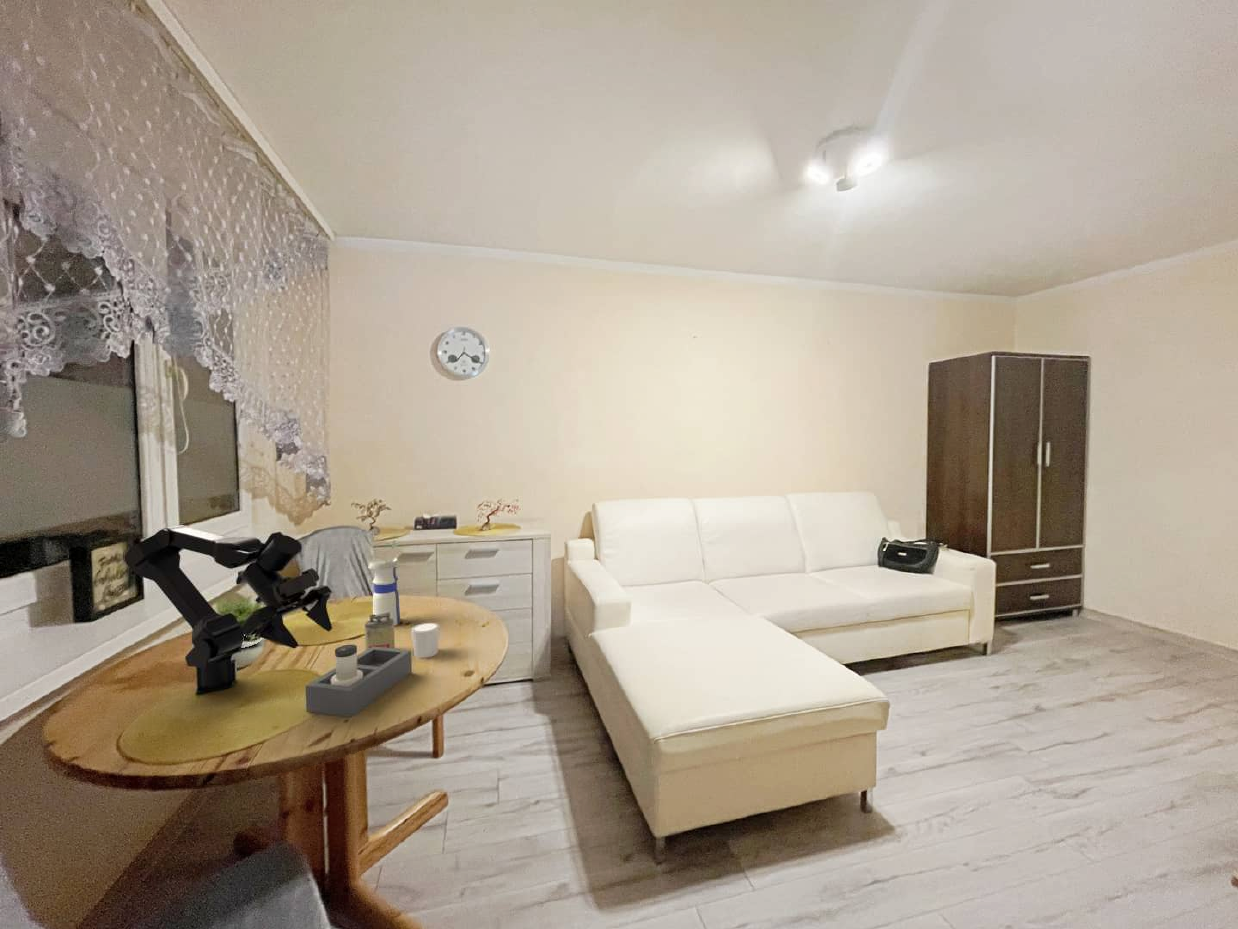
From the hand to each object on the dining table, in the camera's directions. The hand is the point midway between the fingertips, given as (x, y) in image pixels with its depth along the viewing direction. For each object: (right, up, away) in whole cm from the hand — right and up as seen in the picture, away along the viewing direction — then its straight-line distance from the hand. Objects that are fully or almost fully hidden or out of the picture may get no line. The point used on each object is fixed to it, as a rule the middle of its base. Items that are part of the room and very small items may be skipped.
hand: (314, 638), depth 108 cm
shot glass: (+16, -12, +22) cm, 30 cm away
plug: (+8, -11, -1) cm, 13 cm away
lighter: (+3, -12, +24) cm, 27 cm away
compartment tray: (+9, -13, +3) cm, 16 cm away
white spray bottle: (-5, -11, +44) cm, 45 cm away
